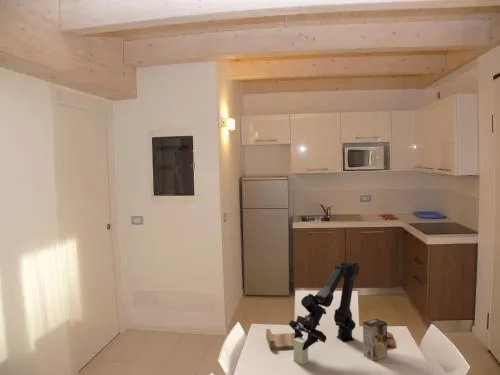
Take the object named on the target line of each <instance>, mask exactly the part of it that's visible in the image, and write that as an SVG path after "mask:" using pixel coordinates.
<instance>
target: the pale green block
mask: <svg viewBox="0 0 500 375" xmlns="http://www.w3.org/2000/svg"><path fill="white" fill-rule="evenodd" d="M306 340H307V338H304V337H302V338H301V337H298V338H295V339H294V349H293V361H294V362H295V363H298V364H299V365H302V366H303V365H304V364H307V363H308V362H309V347H308V348H307V349H305V350H302V349H303V346H304V344H305V342H306Z"/></svg>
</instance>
